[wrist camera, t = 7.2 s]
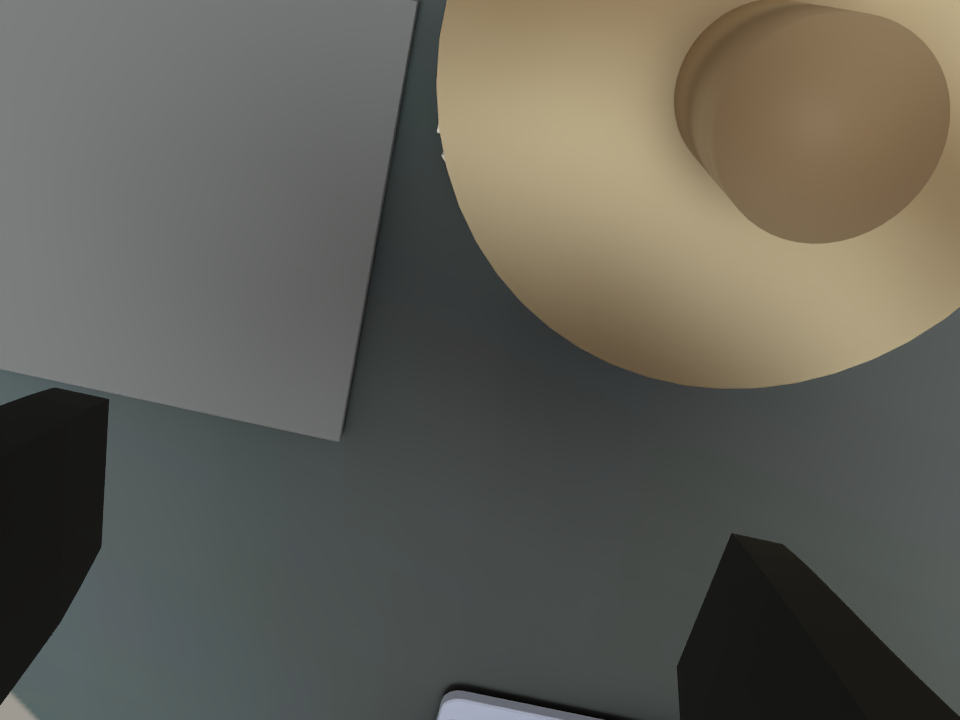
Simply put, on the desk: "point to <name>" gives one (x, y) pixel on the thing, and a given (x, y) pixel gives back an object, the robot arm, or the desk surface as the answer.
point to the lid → (712, 175)
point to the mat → (197, 197)
